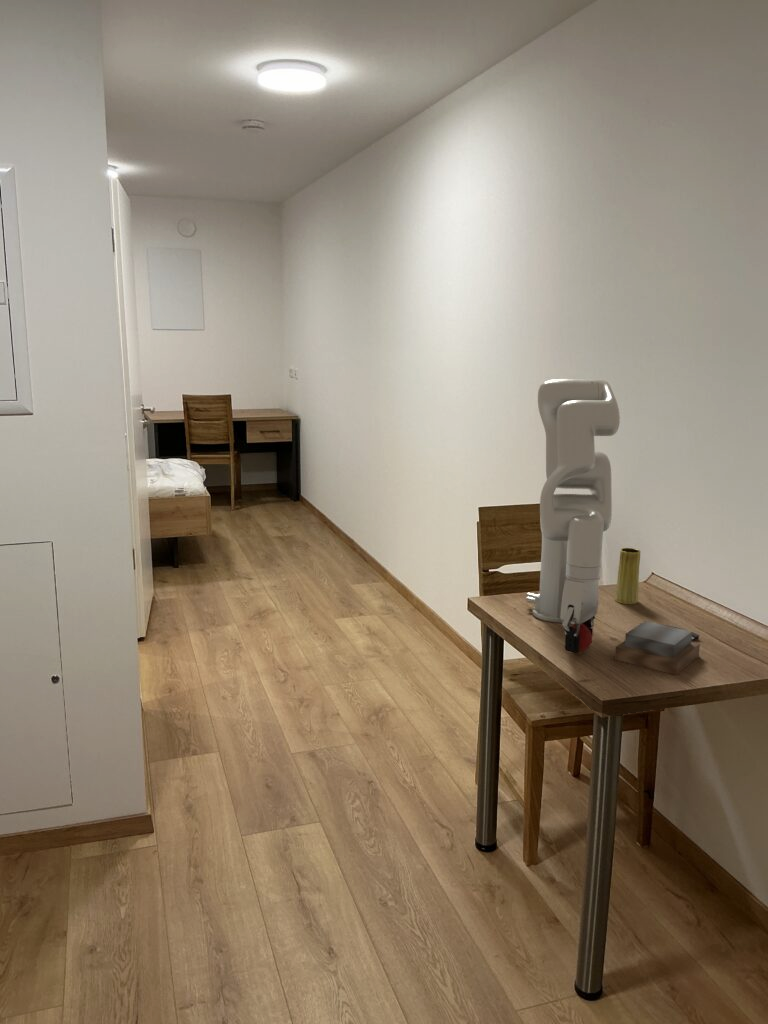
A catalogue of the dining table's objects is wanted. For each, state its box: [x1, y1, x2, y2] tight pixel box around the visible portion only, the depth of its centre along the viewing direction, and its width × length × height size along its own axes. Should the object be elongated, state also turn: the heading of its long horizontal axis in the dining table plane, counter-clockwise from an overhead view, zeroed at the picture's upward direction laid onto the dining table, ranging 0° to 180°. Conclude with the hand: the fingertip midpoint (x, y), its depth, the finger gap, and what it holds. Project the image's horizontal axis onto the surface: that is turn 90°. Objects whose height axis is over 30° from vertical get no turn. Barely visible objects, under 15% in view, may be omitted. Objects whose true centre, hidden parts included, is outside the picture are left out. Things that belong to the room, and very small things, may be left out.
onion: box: [571, 623, 593, 655], centre depth 198 cm, size 6×6×8 cm
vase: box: [614, 547, 641, 605], centre depth 235 cm, size 6×6×14 cm
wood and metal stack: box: [614, 620, 701, 676], centre depth 196 cm, size 14×14×6 cm
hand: (578, 646), depth 198 cm, fingers closed on onion, 5 cm apart
